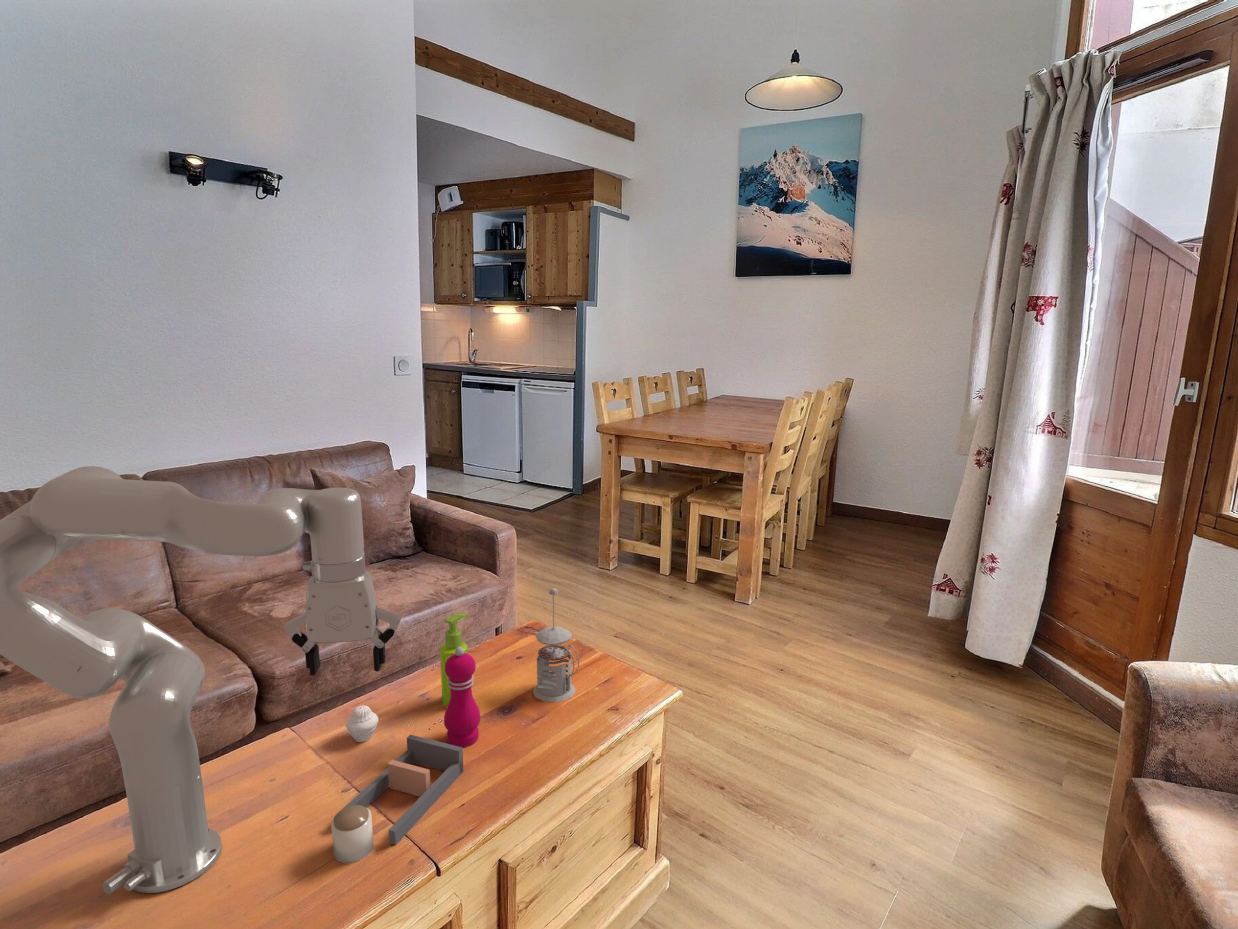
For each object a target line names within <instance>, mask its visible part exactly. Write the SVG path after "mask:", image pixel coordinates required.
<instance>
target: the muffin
mask: <svg viewBox="0 0 1238 929" xmlns="http://www.w3.org/2000/svg"><path fill="white" fill-rule="evenodd" d="M378 724H379V716H378V715H377V714H376V713H375V712H373V711H372V709H371V708H370V707H369V706H367V705H359V706H357V707H355V708H354V709H353V710H352V712H351V715H350V716H349V717H348V719H347V720H346V722H345V727H346V729H347V731H348V734H349V735H350V736H351V737H352V738H353V740H354V741H355V742H358V743H365V742H367V741H369V740H370V739H371V738H372V737H373V735H374V732H376V729H377V727H378V726H377V725H378Z"/></svg>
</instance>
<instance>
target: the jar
mask: <svg viewBox="0 0 1238 929" xmlns="http://www.w3.org/2000/svg"><path fill="white" fill-rule="evenodd" d="M343 808H344V807H343ZM343 808H341V809H340V810H339V811H338V812H337V813H336V814H335V815H334V816H333V817H332V819H331V823H330V827H331V838H332V850H333V857H334V860H336V861H337V862H338V863H342V864H352V863H357V862H359V861H361V860H364V859H365V858H366V857H368V856H369V855H370V854H371V852H372V851H373V849H374V833H373V832H374V831H373V818H372V817H373V816H372V811H371V809H369V808H368V807H364V806H361V805H353V806H349V807H346V808H344V809H343Z"/></svg>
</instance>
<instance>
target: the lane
mask: <svg viewBox="0 0 1238 929" xmlns="http://www.w3.org/2000/svg"><path fill="white" fill-rule="evenodd" d="M463 748H464V747H458V746H454V745H450V744H449V743H445V742H441V741H437V740H435V739H429V738H425V737H422V736H417V735H414V734H409V736H407V737H406V750H405V751H404V752H403V753H402V754H401V755H400V756H399V757H398V758H396V759H395V761H399V762H402V763H406V764H410V765H413V764H416V765H420V766H424V767H428V768H432V769H435V770H440V771H444V772H442V774H440V776H439V777H438V778H437V779H436V780H435V781H434V782H433V783H432V784H430V787H429V788H428V789H427V790H426V791H425V792H424V794H423V795H422V796H421V797H418V799H417V800H416V801H415V802H414V803H412V805H410V807H409V808H408V809H407V810H406V811H405V812H404V813H403V814H402V816H400V817H399V818H398V819H397V820H396V822H394V824H392V826H391V827H390V828H389V829H388V838H389V839H388V840H389V844H390V845H393V846H394V845H395V846H396V845H397V844H398V843H400V841H401V840H402V839H403V838H404V837H405V835H407V833H408V832H409V831H410V830H411V829H412V828H413V827H414V826H415V825H416V824H417V823H418V822H419V820H420V819H422V818H423V816H424V815H425V814H426V813H427V812H428V810H430V808H431V807H433V805H434V804H435V803H436V802H437V801H438V800H439V798H441V797H442V795H443V794H444V793H445V792H446V791H447V790H448V789H449V788H450V787H451V785H452V784H453V783H455V781H456V780H457V779H459V777H460V776H461V774H463V772H464V751H463ZM388 787H389V773H388V767H387V768H385V769H384V771H382V772H381V773H380V774H379V775H378V776H377V777H376V778H375V779H374V780H372V781H371V782H370V783H369V784H368V785H367V786H366V787H364V788H363V790H361V791H360V792H359V793H358V794H357V795H356V796H355V797H354V798H352V799H351V800H350V801H349V802H348V803H347V804H346V805H345V806H344V807H343V808H342V809H344V808H346V807H349V806H353V805H361V806H364V807H366V808H368V806H369V805H371V803H372V802H374V801H375V800H376V799H377V798H378V797H379V796H380V795H381V794H382V793H383V792H384V791H385V790H386V789H387V788H388Z"/></svg>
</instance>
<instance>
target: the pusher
mask: <svg viewBox="0 0 1238 929" xmlns="http://www.w3.org/2000/svg"><path fill="white" fill-rule="evenodd" d="M395 760H396V759H395ZM395 760H394V759H391V760H390V761H389V762H388V763H387V768H388V773H389V786H388V787H389V789H391V790H395V791H398V792H402V793H406V794H409V795H413V796H415V797H418V798H420V797H421V796H422V795H423V794H424V792H425V791H426V790H427V789H428V788H429V787H430V786H431V775H430V774H431V770H430V769H428V768H424V767H421V766H417V765H413V764H411V765H410V764H406V763H402V762H399V761H395Z"/></svg>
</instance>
